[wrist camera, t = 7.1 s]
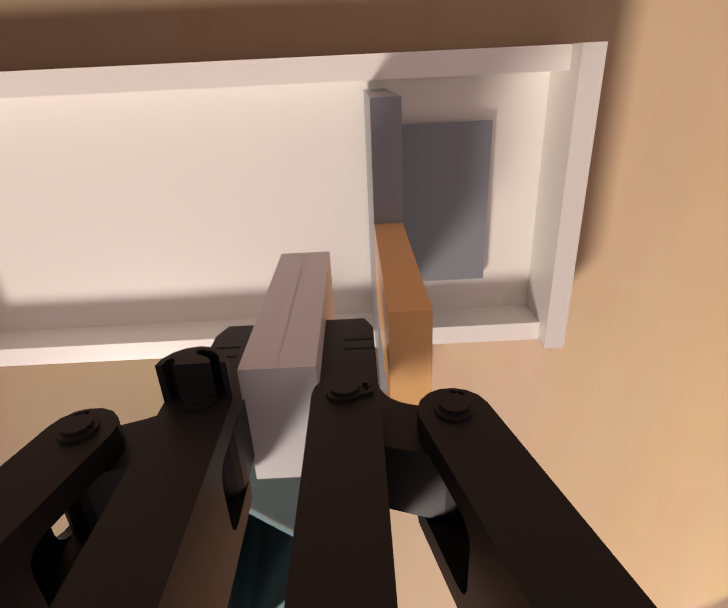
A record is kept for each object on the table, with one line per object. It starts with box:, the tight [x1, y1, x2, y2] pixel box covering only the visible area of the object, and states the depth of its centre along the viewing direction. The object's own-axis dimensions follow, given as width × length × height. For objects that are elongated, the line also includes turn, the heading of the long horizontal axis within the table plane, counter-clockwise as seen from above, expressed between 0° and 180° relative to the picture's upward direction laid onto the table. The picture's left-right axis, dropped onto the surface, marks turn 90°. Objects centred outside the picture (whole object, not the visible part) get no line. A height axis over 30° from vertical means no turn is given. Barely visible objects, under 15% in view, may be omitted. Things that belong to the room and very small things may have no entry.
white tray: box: [0, 41, 608, 366], centre depth 24 cm, size 32×14×4 cm, turn 93°
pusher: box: [363, 88, 493, 405], centre depth 18 cm, size 6×11×15 cm, turn 2°
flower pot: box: [227, 461, 301, 608], centre depth 29 cm, size 9×9×9 cm
